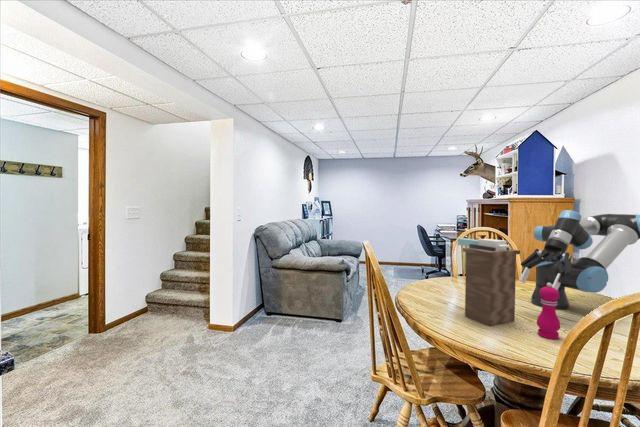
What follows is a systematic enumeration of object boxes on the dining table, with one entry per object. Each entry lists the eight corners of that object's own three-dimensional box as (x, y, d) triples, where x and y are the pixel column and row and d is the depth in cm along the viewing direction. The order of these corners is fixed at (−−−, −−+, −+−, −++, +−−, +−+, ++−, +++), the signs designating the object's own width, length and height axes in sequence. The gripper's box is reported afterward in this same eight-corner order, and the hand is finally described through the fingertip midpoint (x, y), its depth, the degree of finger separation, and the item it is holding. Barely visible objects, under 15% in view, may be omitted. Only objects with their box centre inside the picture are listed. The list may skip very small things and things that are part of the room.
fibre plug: (465, 244, 151) (465, 236, 151) (510, 251, 130) (511, 241, 130) (456, 245, 149) (456, 236, 149) (500, 251, 127) (500, 241, 127)
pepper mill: (534, 336, 118) (536, 282, 118) (538, 330, 124) (539, 279, 123) (558, 341, 113) (560, 286, 113) (561, 335, 119) (562, 282, 118)
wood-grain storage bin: (489, 311, 146) (490, 243, 145) (518, 321, 133) (520, 246, 132) (461, 316, 139) (462, 244, 138) (489, 327, 126) (491, 248, 125)
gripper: (525, 235, 147) (505, 274, 143) (586, 240, 124) (564, 287, 120) (534, 244, 149) (514, 282, 145) (595, 251, 126) (575, 297, 122)
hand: (537, 285), depth 133 cm, fingers open, 13 cm apart
